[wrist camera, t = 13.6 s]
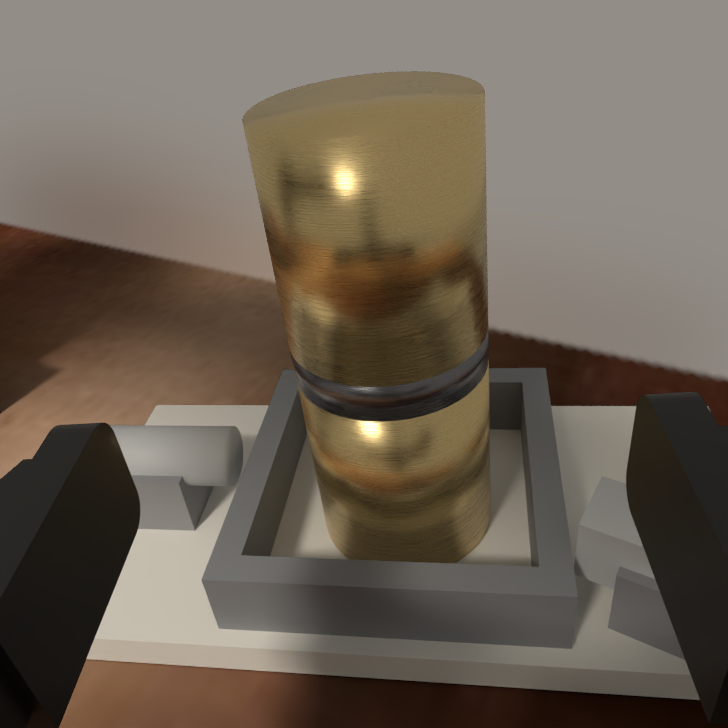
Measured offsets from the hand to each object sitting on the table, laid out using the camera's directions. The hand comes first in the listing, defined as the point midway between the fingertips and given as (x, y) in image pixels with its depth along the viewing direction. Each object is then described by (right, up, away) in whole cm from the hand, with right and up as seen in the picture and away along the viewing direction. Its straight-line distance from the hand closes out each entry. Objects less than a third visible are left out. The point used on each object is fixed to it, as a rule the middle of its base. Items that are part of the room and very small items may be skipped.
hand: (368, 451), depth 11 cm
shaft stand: (+1, -4, +11) cm, 12 cm away
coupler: (+1, -3, +10) cm, 11 cm away
